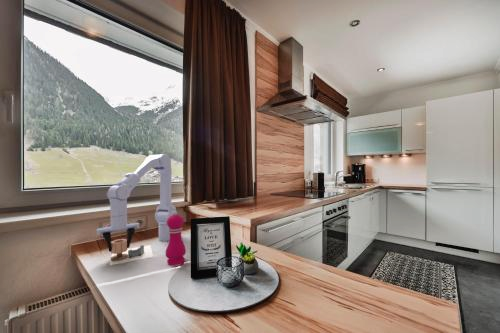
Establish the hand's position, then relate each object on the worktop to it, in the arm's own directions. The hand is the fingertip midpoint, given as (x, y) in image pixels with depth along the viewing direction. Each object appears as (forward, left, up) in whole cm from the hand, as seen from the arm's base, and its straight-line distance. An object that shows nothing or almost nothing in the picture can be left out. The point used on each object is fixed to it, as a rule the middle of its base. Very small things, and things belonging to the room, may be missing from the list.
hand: (119, 249), depth 87 cm
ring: (0, 0, -1) cm, 1 cm away
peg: (0, 0, -4) cm, 4 cm away
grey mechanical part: (-6, 0, -4) cm, 7 cm away
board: (-4, -2, -4) cm, 7 cm away
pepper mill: (-19, +16, -5) cm, 25 cm away
